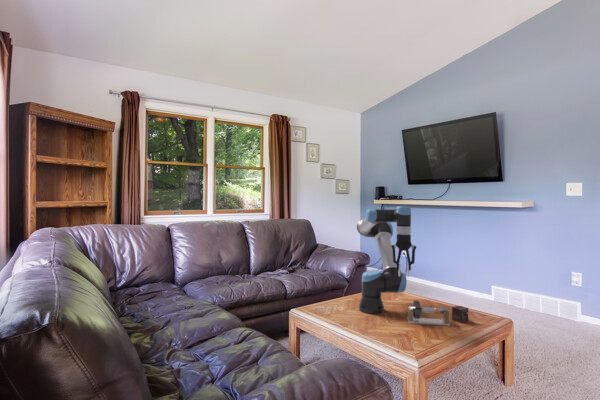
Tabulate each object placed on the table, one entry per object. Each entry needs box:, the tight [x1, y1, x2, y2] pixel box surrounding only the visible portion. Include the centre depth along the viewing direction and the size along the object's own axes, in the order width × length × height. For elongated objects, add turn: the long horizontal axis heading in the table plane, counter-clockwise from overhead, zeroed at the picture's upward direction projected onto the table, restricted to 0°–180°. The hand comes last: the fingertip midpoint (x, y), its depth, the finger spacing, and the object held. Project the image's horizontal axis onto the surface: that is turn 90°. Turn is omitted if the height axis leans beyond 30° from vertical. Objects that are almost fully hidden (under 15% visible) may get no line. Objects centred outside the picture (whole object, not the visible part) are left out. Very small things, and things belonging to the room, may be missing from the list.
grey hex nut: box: [412, 299, 422, 319], centre depth 183 cm, size 2×9×9 cm, turn 169°
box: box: [451, 305, 469, 324], centre depth 184 cm, size 6×6×7 cm
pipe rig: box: [406, 305, 451, 327], centre depth 182 cm, size 21×7×8 cm, turn 79°
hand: (403, 275), depth 184 cm, fingers open, 4 cm apart
